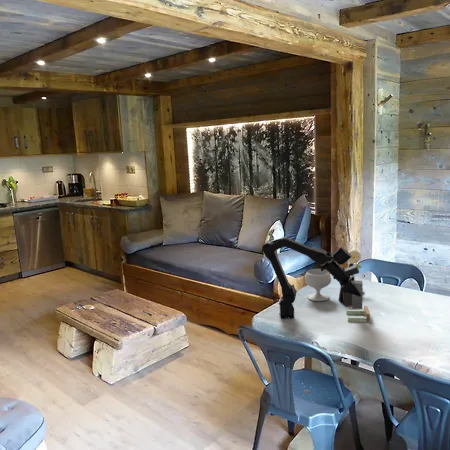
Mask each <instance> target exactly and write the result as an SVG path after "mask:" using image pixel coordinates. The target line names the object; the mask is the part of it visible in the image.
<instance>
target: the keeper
mask: <svg viewBox="0 0 450 450" xmlns="http://www.w3.org/2000/svg"><path fill="white" fill-rule="evenodd" d="M345 314H346V315H364V317H362V316H347V322H353V323H354V322H356V323H358V322H359V323H360V322H361V323H362V322H363V323H366V322H367V323H370V322H371V312H370V310H369V306H367V305H364V306H363V309H346V310H345Z"/></svg>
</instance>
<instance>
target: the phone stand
mask: <svg viewBox="0 0 450 450" xmlns="http://www.w3.org/2000/svg"><path fill="white" fill-rule="evenodd" d="M342 285H343V284H342ZM342 285H340V288H339V295H338V302H339V303H340V304H341V305H342V306H343V307H345V308H346V307H352V294H351V293H348V292H346V293H345V294H344V293H343V292H342V291H341V286H342Z"/></svg>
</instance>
